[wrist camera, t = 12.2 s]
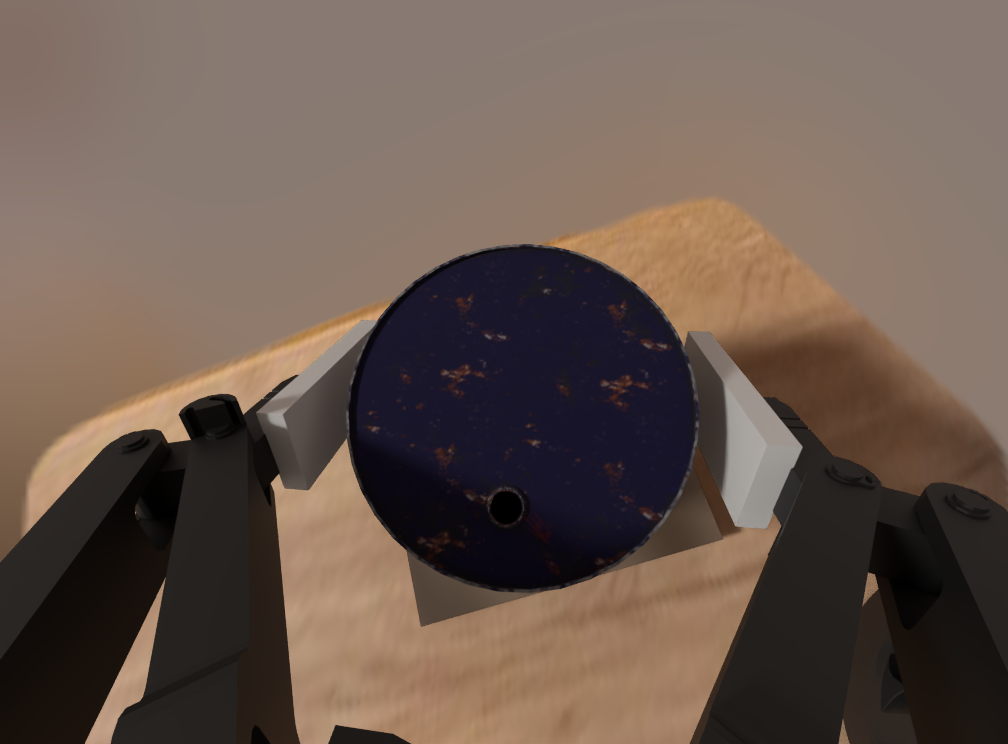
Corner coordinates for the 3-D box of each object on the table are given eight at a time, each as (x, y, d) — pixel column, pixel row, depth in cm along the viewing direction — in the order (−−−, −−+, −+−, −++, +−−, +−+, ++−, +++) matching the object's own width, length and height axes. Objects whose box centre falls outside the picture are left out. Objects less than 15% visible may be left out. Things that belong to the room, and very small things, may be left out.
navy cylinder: (463, 367, 27) (376, 234, 13) (612, 377, 26) (697, 243, 12) (444, 523, 25) (307, 574, 10) (608, 541, 23) (712, 627, 9)
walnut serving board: (619, 306, 29) (623, 296, 28) (712, 536, 24) (722, 539, 23) (380, 377, 29) (372, 371, 28) (428, 618, 25) (421, 626, 23)
